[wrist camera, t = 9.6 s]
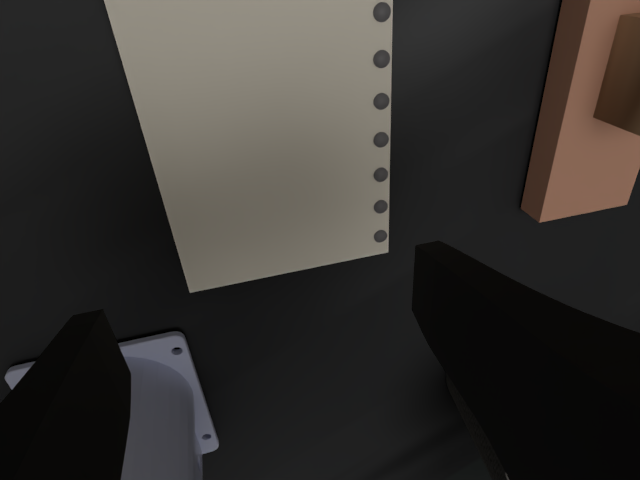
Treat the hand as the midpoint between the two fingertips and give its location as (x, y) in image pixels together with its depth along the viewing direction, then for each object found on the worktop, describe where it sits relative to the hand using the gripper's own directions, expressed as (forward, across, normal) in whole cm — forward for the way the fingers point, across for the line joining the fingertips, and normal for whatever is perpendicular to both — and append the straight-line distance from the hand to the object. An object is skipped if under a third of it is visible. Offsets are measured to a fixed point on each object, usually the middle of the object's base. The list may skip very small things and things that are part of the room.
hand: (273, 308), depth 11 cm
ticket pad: (+9, -2, -2) cm, 10 cm away
